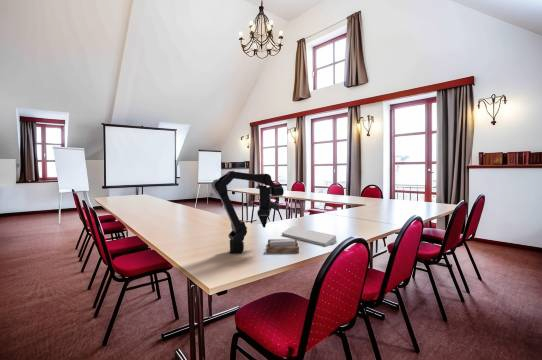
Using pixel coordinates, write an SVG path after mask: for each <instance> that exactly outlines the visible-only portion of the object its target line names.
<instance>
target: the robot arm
mask: <svg viewBox="0 0 542 360" xmlns="http://www.w3.org/2000/svg"><path fill="white" fill-rule="evenodd" d="M234 179H236V180H241V181H242V180H244V181H250V182H254V183H258V184H257V185H256V186H255V189H258V190H259V192H258V194H259V195H258V197H259V199H258V203H259V207H258V210H257V217H258V218H259V221H260V223H261V226H262V228H264V229H265V228H266V225H267V224H268V223H267V222H268V218H269V217H270V215H271V212H272V210H275V211H278V212H279V211H280V207H281V204H280V203H279V201H278V200H274V201H271V197H282V196H284V192H285V191H284V188H283V187H284V186H282V183H276V184H275V183H274V181H273V180H272V176H271V175H270V174H269V173H248V172H241V171H235V170H229V171H228V172H226V173H225V174H224V175H222V176H220V177H219V178H216V179H214V180H213V181H212V182H211V184H210V185H211V188H212V190H213V191H214V193H215V194H216V195H217V196H218V198H219V199H220V201H221V205H222V206H223V208H224V210H225V212H226V214H227V217H228V218H229V220H230V224H231V225H230V227H231V231H230V233H229V234H228V239H229V252H228V253H229V254H242V253H243V252H244V251H245V245H244V244H245V242H244V240H245V237H246V235H247V233H248V231H247V229H248V227H247V226H246V223H245V221H243V220H241V219H240V218H239V217H238V215H237V211H236V210H235V208H234V205H233V204H232V201H231V199H230V197H229V194H228V187H227V186H228V185H229V184H230V183H231V182H232V181H233V180H234Z"/></svg>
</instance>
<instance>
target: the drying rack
mask: <svg viewBox="0 0 542 360" xmlns="http://www.w3.org/2000/svg"><path fill="white" fill-rule="evenodd" d="M291 239H292V238H286V239H285V238H280V239H278V238H277V239H276V238H274V239H272V238H270V239H267V247H266V252H267V254H295V253H296V254H298V253H300V246H299V243H298V239H296V238H293V239H294V240H295V241H296V247H270V241H272V240H291Z"/></svg>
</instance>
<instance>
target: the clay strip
mask: <svg viewBox="0 0 542 360" xmlns="http://www.w3.org/2000/svg"><path fill="white" fill-rule="evenodd" d="M290 239H291V240H272V241H270V247H296V241H295V240H294V239H295V238H290Z"/></svg>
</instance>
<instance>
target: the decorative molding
mask: <svg viewBox="0 0 542 360" xmlns="http://www.w3.org/2000/svg"><path fill="white" fill-rule="evenodd" d="M281 235H282V236H284V237H289V238H291V239H297V240H299V241H304V242H309V243H312V244H317V245H319V246H324V247H328V246H330V245H332V244H336V243H337V242H338V241H337V236H336V234H335V235H334V234H330V233H327V232H326V233H325V232H320V231H315V230H311V229H306V228H301V227H297V226H290V227H289V228H287V229H286V230H284V231H282V232H281Z"/></svg>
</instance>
